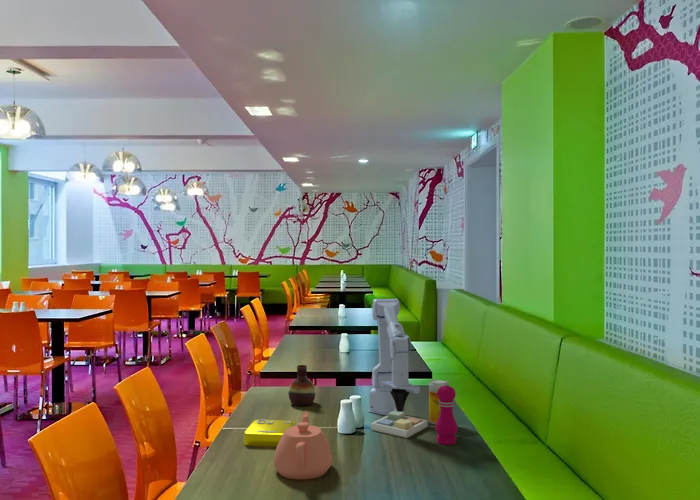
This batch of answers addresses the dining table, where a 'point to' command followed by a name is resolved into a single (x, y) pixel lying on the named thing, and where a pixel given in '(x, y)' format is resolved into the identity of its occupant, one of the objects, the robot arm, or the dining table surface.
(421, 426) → the keypad base
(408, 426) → the mustard key
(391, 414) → the sage key
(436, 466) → the dining table surface
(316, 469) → the teapot
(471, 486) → the dining table surface
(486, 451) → the dining table surface
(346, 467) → the dining table surface
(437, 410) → the beer can
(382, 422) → the slate-blue key
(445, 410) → the pepper mill
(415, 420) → the terracotta key
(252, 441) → the element tile
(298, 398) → the vase
